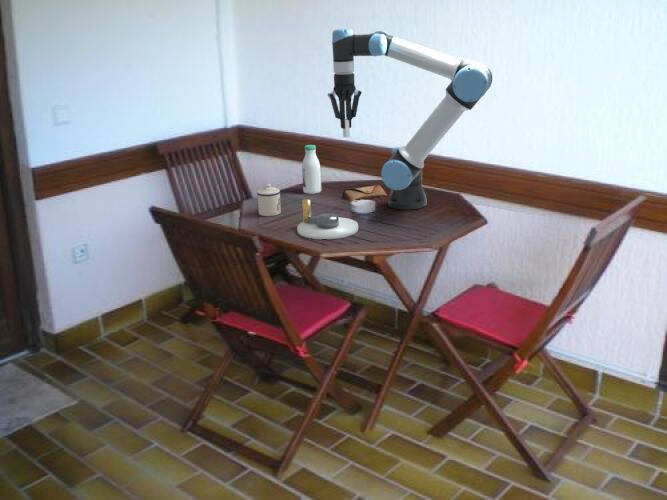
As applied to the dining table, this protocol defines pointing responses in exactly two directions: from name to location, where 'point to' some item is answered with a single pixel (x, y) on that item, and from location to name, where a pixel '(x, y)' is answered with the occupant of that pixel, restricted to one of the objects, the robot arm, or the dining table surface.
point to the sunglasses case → (364, 193)
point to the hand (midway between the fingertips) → (346, 136)
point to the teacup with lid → (269, 201)
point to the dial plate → (328, 230)
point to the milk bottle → (311, 171)
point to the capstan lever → (319, 216)
